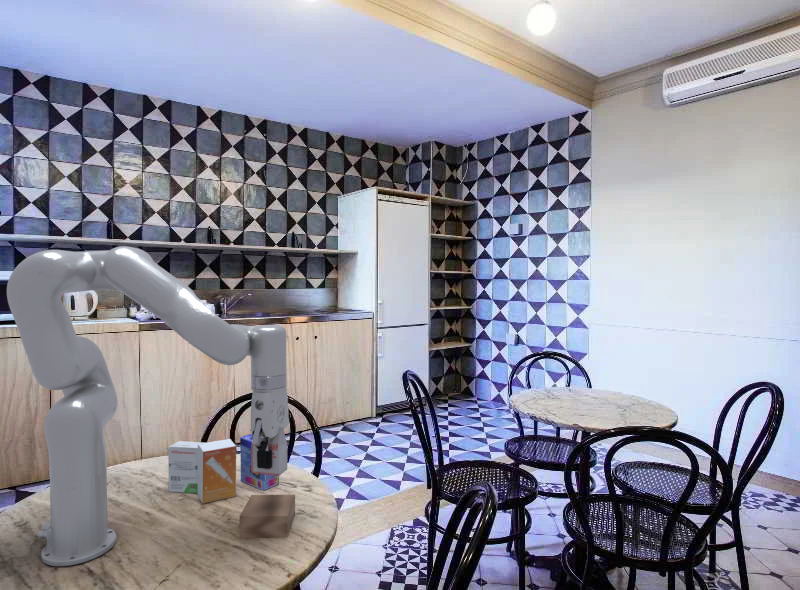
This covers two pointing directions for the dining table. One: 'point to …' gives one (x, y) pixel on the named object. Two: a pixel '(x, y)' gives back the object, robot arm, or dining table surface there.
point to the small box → (216, 470)
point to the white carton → (278, 456)
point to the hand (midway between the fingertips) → (269, 462)
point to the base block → (267, 516)
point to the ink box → (183, 467)
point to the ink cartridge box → (246, 476)
